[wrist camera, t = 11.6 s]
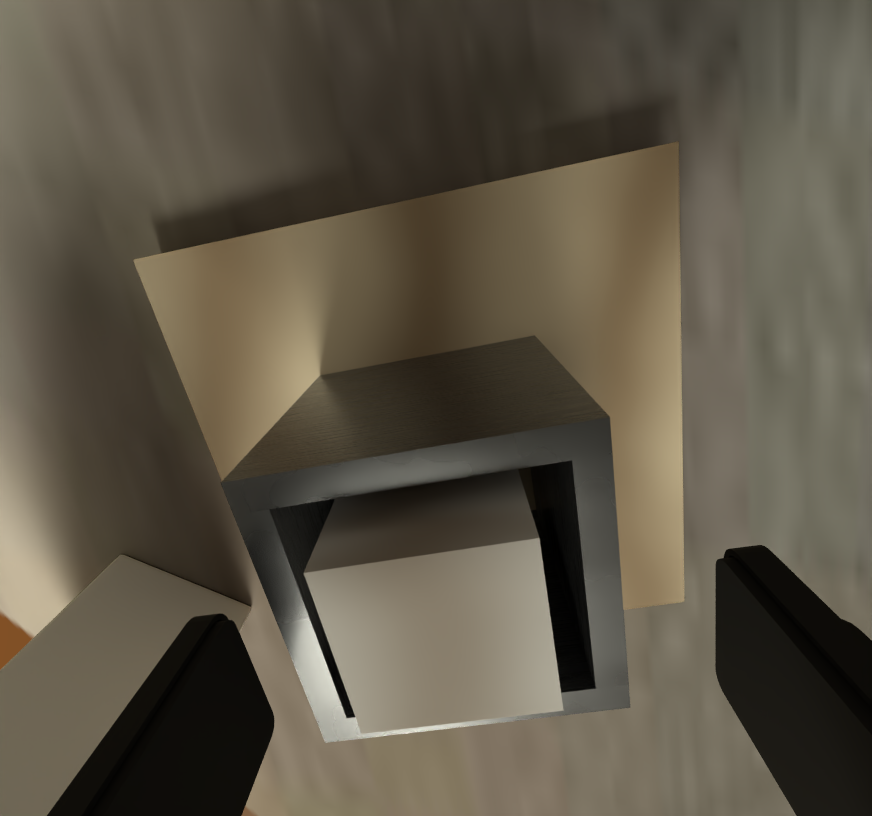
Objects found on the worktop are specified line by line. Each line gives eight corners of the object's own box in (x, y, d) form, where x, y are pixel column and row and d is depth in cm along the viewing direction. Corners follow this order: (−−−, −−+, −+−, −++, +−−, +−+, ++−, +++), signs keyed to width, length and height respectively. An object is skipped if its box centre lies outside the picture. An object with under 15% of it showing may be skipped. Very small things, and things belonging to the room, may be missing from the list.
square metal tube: (534, 335, 14) (609, 416, 8) (557, 522, 17) (630, 707, 10) (319, 375, 15) (220, 482, 8) (371, 551, 17) (325, 742, 11)
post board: (654, 151, 14) (1035, -11, 5) (666, 574, 19) (858, 866, 10) (161, 257, 15) (-243, 283, 6) (301, 625, 21) (191, 921, 12)
